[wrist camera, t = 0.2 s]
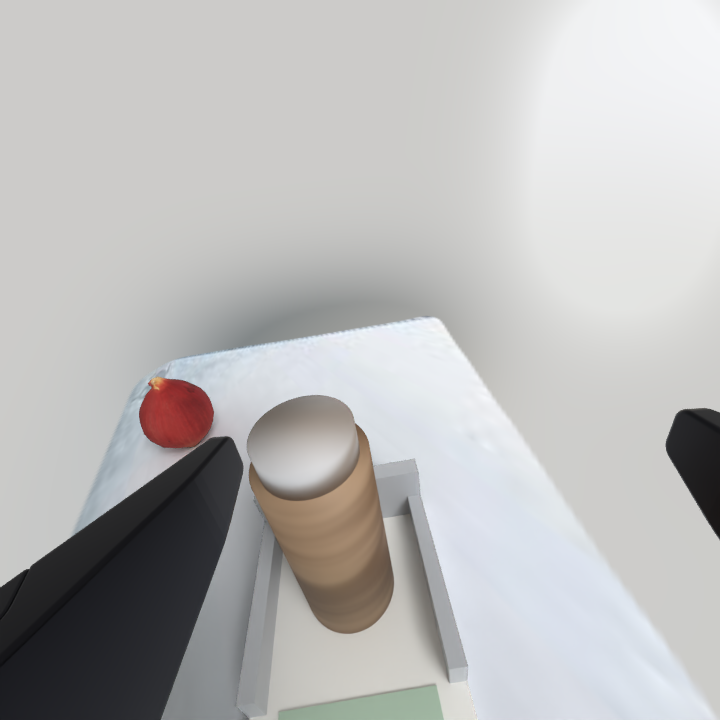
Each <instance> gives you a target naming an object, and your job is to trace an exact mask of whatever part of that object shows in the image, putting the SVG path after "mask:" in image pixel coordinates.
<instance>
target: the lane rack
mask: <svg viewBox="0 0 720 720" xmlns="http://www.w3.org/2000/svg"><path fill="white" fill-rule="evenodd" d="M373 468H374V474H375V479H376V484H377V489H378V495H379V500H380V505H381V511H382V516H383V521H384V527H385V532H386V537H387V543H388V548H389V553H390V559H391V564H392V569H393V575H394V590H393V595H392V598H391V601H390V604H389V606H388V608H387V610H386V611H385V613H384V614H383V615H382V617H381V618H380V619H379V620H378V621H377V622H376V623H375V624H373V625H372V626H371V627H369V628H367V629H365V630H363V631H361V632H358V633H353V634H342V633H337V632H333V631H331V630H329V629H327V628H326V627H325V626H323V625H322V624H321V623H320V622H319V621H318V620H317V618H316V617H315V616H314V614H313V612H312V610H311V608H310V606H309V604H308V602H307V600H306V598H305V596H304V594H303V592H302V590H301V588H300V586H299V584H298V582H297V580H296V578H295V575H294V573H293V571H292V569H291V567H290V565H289V563H288V561H287V559H286V557H285V555H284V553H283V551H282V549H281V547H280V545H279V543H278V541H277V539H276V537H275V535H274V533H273V531H272V529H271V527H270V525H269V523H268V521H267V519H266V517H265V515H264V513H263V511H262V509H261V507H260V505H259V503H258V500H257V498H256V496H254V502H255V504H256V506H257V508H258V509H259V511H260V513H261V515H262V517H263V519H264V521H265V522H264V528H263V535H262V541H261V547H260V554H259V560H258V566H257V573H256V579H255V586H254V592H253V598H252V605H251V611H250V617H249V624H248V630H247V637H246V643H245V649H244V656H243V662H242V668H241V675H240V681H239V687H238V694H237V700H236V707H237V708H238V709H239V710H240V711H242V712H243V713H244V714H245V715H246V716H247V717H248V718H249V720H478V719H477V715H476V712H475V708H474V704H473V700H472V697H471V693H470V689H469V686H468V682H467V675H468V664H467V661H466V657H465V654H464V650H463V646H462V643H461V639H460V636H459V632H458V628H457V625H456V621H455V618H454V614H453V610H452V607H451V603H450V600H449V596H448V592H447V589H446V585H445V582H444V578H443V574H442V571H441V567H440V564H439V560H438V556H437V553H436V549H435V546H434V542H433V538H432V535H431V531H430V528H429V524H428V520H427V517H426V513H425V510H424V506H423V502H422V499H421V495H420V485H419V473H418V469H417V465H416V462H415V459H410V460H405V461H399V462H393V463H387V464H381V465H376V466H373Z"/></svg>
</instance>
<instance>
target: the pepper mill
mask: <svg viewBox="0 0 720 720" xmlns="http://www.w3.org/2000/svg"><path fill="white" fill-rule="evenodd" d="M247 452H248V455H249V457H250V459H251V464H250V469H249V481H250V485H251V488H252V490H253V492H254V494H255V496H256V498H257V500H258V503H259V505H260V507H261V509H262V511H263V513H264V515H265V517H266V519H267V521H268V523H269V525H270V527H271V529H272V531H273V533H274V535H275V537H276V539H277V541H278V543H279V545H280V547H281V549H282V551H283V553H284V555H285V557H286V559H287V561H288V563H289V565H290V567H291V569H292V571H293V573H294V575H295V578H296V580H297V582H298V584H299V586H300V588H301V590H302V592H303V594H304V596H305V598H306V600H307V602H308V604H309V606H310V608H311V610H312V612H313V614H314V616H315V617H316V618H317V620H318V621H319V622H320V623H321V624H322V625H323V626H325V627H326V628H327V629H329V630H331V631H333V632H337V633H342V634H353V633H358V632H361V631H363V630H365V629H367V628H369V627H371V626H372V625H373V624H375V623H376V622H377V621H378V620H379V619H380V618H381V617H382V615H383V614H384V613H385V611H386V610H387V608H388V606H389V604H390V601H391V598H392V595H393V590H394V575H393V569H392V564H391V559H390V553H389V548H388V543H387V537H386V532H385V527H384V521H383V516H382V511H381V505H380V500H379V495H378V489H377V484H376V479H375V474H374V468H373V463H372V458H371V452H370V447H369V442H368V439H367V436H366V435H365V433H364V431H363V430H362V429H361V428H360V427H359V426H358V425H357V424H355V422H354V417H353V414H352V412H351V410H350V409H349V408H348V406H347V405H346V404H344V403H343V402H341V401H340V400H338V399H335V398H332V397H329V396H322V395H310V396H303V397H298V398H294V399H291V400H288V401H286V402H284V403H281V404H279V405H278V406H276V407H274V408H273V409H271V410H269V411H268V412H267V413H266V414H264V415H263V416H262V417H261V418H260V419H259V420H258V421H257V422H256V424H255V425H254V426H253V428H252V430H251V432H250V434H249V436H248V440H247Z"/></svg>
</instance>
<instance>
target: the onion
mask: <svg viewBox="0 0 720 720" xmlns="http://www.w3.org/2000/svg"><path fill="white" fill-rule="evenodd" d="M148 384H149V386H151V387H152V389H151V390H150V391H149V392H148V393H147V394H146V396H145V398H144V400H143V402H142V404H141V407H140V411H139V418H140V423H141V427H142V429H143V432H144V434H145V435H146V437H147V438H148V439H149V440H150V441H152V442H154V443H156V444H157V445H160V446H162V447H165V448H183V447H194V446H196V445H197V444H198V443H199V442H200V441H201V440H202V439H203V438H204V437H205V436H206V434H207V433H208V431H209V429H210V428H211V425H212V422H213V416H214V411H213V407H212V404H211V401H210V399H209V397H208V396H207V394H206V393H205V392H204V391H203V390H202V389H201V388H199V387H197V386H196V385H194V384H191V383H189V382H186V381H183V380H176V379H165V378H161V377H156V378H153V379H151V380H150V382H149V383H148Z"/></svg>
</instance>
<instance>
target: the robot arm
mask: <svg viewBox="0 0 720 720" xmlns="http://www.w3.org/2000/svg"><path fill="white" fill-rule="evenodd" d="M666 451H667V453H668V456H669V458H670V459H671V461H672V463H673V464H674V466H675V467H676V469H677V471H678V473H679V474H680V476H681V478H682V479H683V481H684V483H685V484H686V486H687V488H688V489H689V491H690V493H691V495H692V496H693V498H694V500H695V501H696V503H697V505H698V506H699V508H700V509H701V511H702V513H703V515H704V516H705V518H706V520H707V521H708V523H709V524H710V526H711V527H712V529H713V531H714V532H715V534H716V535H717V536H718V538H719V539H720V413H719V412H717V411H714V410H711V409H707V408H698V409H684V410H681V411H679V412H678V413H677V414H676V416H675V419H674V421H673V424H672V427H671V429H670V432H669V435H668V437H667V440H666ZM242 475H243V463H242V460H241V457H240V455H239V453H238V450H237V448H236V446H235V443H234V441H233V439H232V438H230V437H228V436H225V437H213V438H210V439H209V440H207V441H206V442H205V443H203V444H202V445H200V446H199V447H198V448H196V449H195V450H193V451H192V452H191V453H189V454H188V455H186V456H185V457H184V458H182V459H181V460H179V461H178V462H176V463H175V464H174V465H172V466H171V467H169V468H168V469H167V470H165V471H164V472H162V473H161V474H160V475H158V476H157V477H155V478H154V479H153V480H151V481H150V482H148V483H147V484H146V485H144V486H143V487H141V488H140V489H138V490H137V491H136V492H134V493H133V494H131V495H130V496H129V497H127V498H126V499H124V500H123V501H122V502H120V503H119V504H117V505H116V506H115V507H113V508H112V509H110V510H109V511H107V512H106V513H105V514H103V515H102V516H100V517H99V518H98V519H96V520H95V521H93V522H92V523H91V524H89V525H88V526H86V527H85V528H84V529H82V530H81V531H79V532H78V533H76V534H75V535H74V536H72V537H71V538H69V539H68V540H67V541H65V542H64V543H63V544H61V545H60V546H58V547H57V548H55V549H54V550H53V551H51V552H50V553H48V554H47V555H45V556H44V557H43V558H41V559H40V560H39V561H37V562H36V563H34V564H33V565H32V566H31V567H30V569H26V570H24V571H23V572H21V573H20V574H19V575H17V576H16V577H14V578H13V579H12V580H10V581H9V582H7V583H6V584H5V585H3V586H2V587H0V720H161V717H162V715H163V712H164V709H165V706H166V704H167V701H168V698H169V695H170V693H171V690H172V687H173V684H174V682H175V679H176V676H177V673H178V671H179V668H180V665H181V662H182V659H183V657H184V654H185V651H186V648H187V646H188V643H189V640H190V637H191V635H192V632H193V629H194V626H195V624H196V621H197V618H198V615H199V613H200V610H201V607H202V604H203V602H204V599H205V596H206V593H207V591H208V588H209V585H210V582H211V580H212V577H213V574H214V571H215V568H216V566H217V563H218V560H219V557H220V555H221V552H222V549H223V546H224V543H225V540H226V537H227V533H228V530H229V526H230V522H231V518H232V514H233V510H234V506H235V502H236V499H237V495H238V491H239V487H240V483H241V479H242Z"/></svg>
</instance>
